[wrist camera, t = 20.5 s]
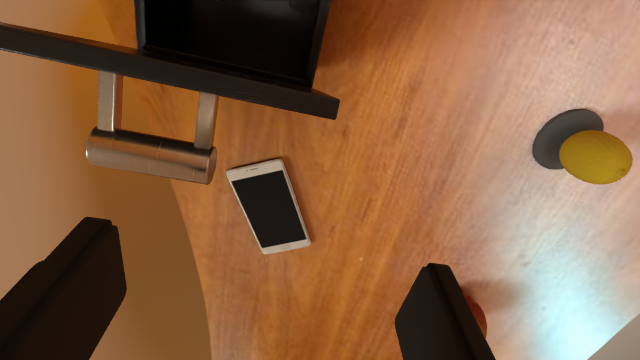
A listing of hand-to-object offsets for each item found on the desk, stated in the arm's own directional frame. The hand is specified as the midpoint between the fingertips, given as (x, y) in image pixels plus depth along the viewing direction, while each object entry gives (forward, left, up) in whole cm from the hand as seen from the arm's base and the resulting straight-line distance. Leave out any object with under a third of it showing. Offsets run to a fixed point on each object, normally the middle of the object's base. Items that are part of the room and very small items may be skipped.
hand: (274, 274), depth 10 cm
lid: (-2, -6, -13) cm, 14 cm away
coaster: (+1, +34, -28) cm, 44 cm away
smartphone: (+19, 0, -29) cm, 35 cm away
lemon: (+1, +34, -28) cm, 44 cm away
